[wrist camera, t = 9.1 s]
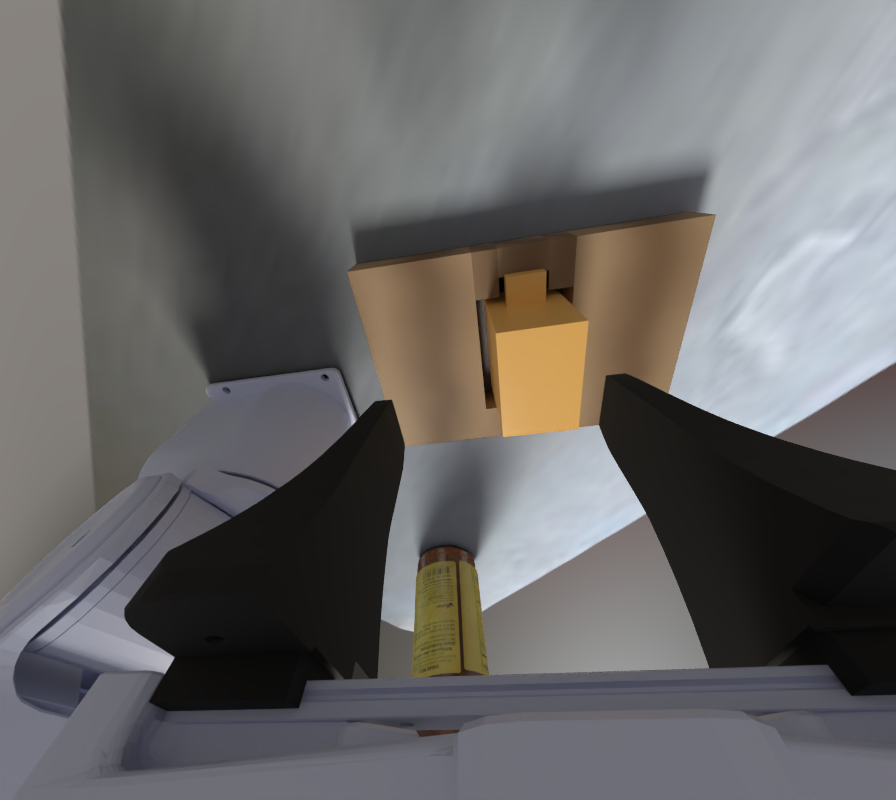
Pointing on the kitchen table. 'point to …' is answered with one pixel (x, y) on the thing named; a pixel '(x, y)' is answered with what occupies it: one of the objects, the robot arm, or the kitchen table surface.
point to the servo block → (535, 356)
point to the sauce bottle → (448, 619)
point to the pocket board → (568, 267)
